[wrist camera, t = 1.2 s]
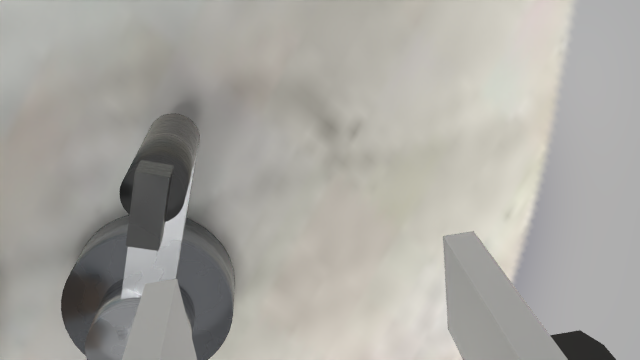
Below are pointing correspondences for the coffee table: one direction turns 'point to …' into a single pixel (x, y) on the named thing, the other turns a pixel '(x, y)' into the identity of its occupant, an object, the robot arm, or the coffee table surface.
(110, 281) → the crank base
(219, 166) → the coffee table surface
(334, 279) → the coffee table surface
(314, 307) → the coffee table surface
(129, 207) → the crank
